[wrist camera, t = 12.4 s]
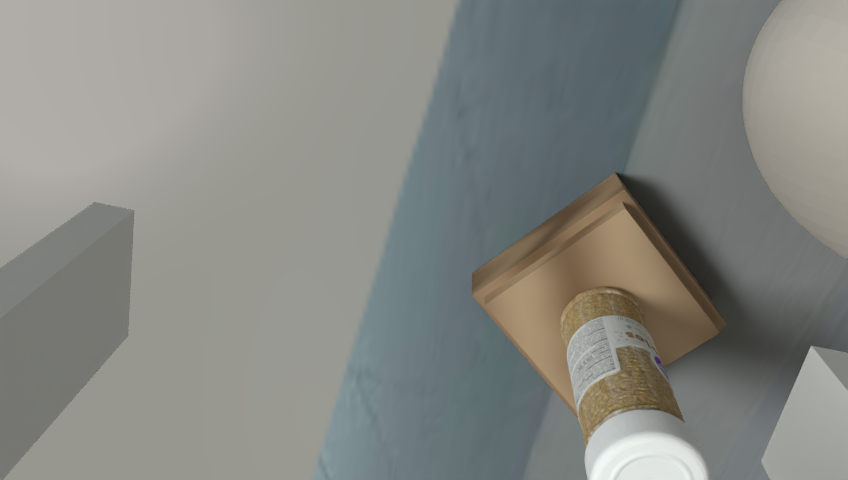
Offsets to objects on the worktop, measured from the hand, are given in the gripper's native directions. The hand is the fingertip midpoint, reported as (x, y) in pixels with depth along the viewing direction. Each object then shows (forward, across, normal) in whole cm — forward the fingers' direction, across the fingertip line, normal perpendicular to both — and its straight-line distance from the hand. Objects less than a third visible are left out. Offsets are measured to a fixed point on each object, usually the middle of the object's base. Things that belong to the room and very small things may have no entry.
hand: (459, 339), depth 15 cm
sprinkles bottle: (+25, +9, -11) cm, 29 cm away
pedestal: (+29, +9, -10) cm, 32 cm away
